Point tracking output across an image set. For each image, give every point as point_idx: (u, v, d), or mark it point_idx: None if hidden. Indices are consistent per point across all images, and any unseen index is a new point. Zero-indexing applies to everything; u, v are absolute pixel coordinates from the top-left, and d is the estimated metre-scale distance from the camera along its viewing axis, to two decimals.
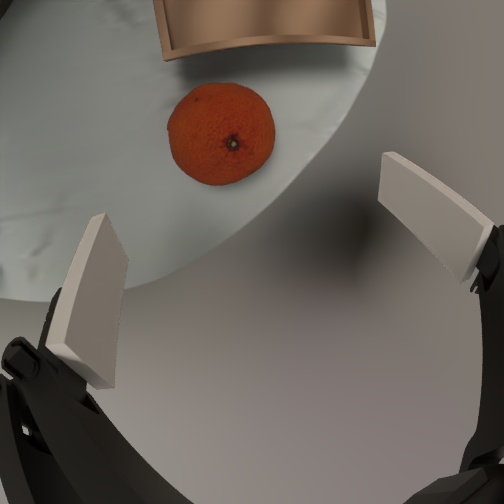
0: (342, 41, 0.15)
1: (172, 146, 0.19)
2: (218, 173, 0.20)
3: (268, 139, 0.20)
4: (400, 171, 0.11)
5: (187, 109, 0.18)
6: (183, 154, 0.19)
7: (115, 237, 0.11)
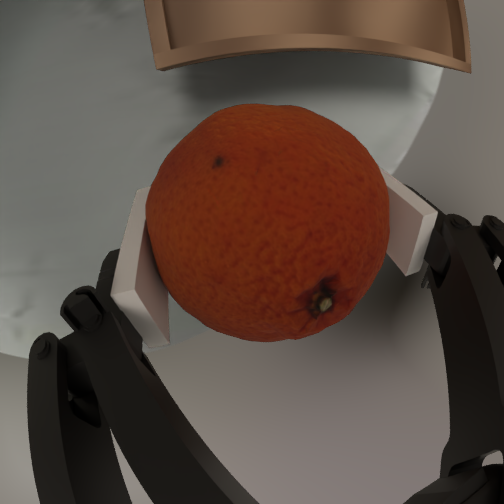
0: (439, 61, 0.08)
1: (161, 273, 0.08)
2: (272, 340, 0.09)
3: None
4: None
5: (191, 190, 0.07)
6: (189, 303, 0.08)
7: None
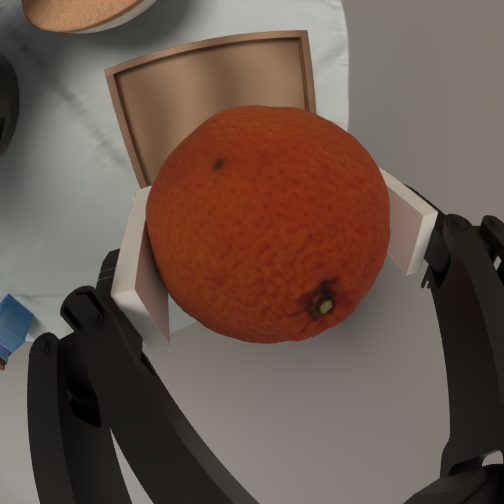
0: None
1: (161, 275, 0.08)
2: (273, 342, 0.09)
3: (383, 262, 0.09)
4: None
5: (191, 192, 0.07)
6: (189, 305, 0.08)
7: None
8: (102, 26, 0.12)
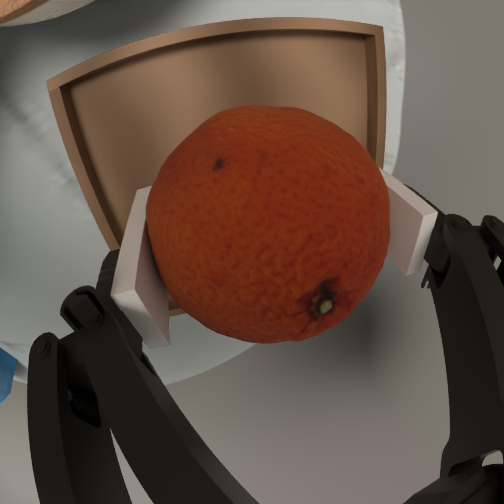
0: None
1: (161, 275, 0.08)
2: (273, 342, 0.09)
3: (383, 262, 0.09)
4: None
5: (191, 191, 0.07)
6: (189, 305, 0.08)
7: None
8: (45, 8, 0.05)
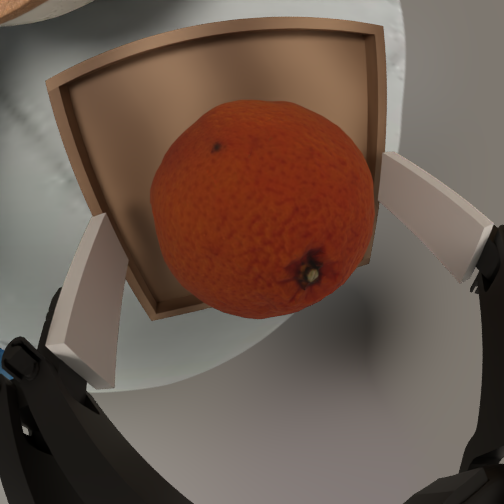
0: None
1: (163, 251, 0.09)
2: (266, 315, 0.10)
3: (368, 241, 0.09)
4: (400, 171, 0.11)
5: (192, 171, 0.07)
6: (188, 277, 0.09)
7: (115, 237, 0.11)
8: (44, 8, 0.05)
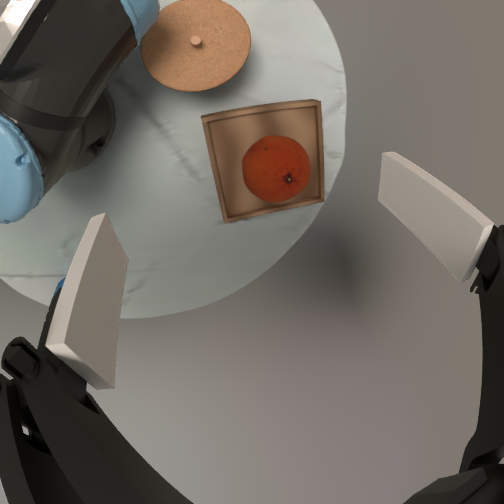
0: (305, 204, 0.42)
1: (248, 176, 0.33)
2: (277, 196, 0.33)
3: (308, 175, 0.33)
4: (400, 172, 0.11)
5: (259, 154, 0.31)
6: (256, 182, 0.32)
7: (115, 237, 0.11)
8: None
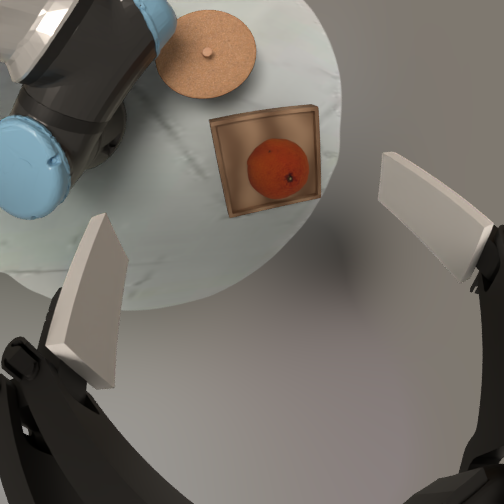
0: (303, 200, 0.45)
1: (253, 176, 0.36)
2: (279, 193, 0.37)
3: (306, 175, 0.36)
4: (400, 172, 0.11)
5: (264, 156, 0.34)
6: (260, 181, 0.36)
7: (115, 237, 0.11)
8: None
